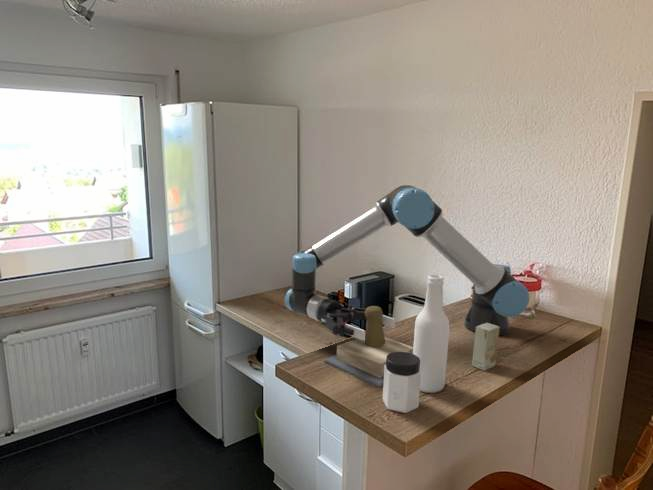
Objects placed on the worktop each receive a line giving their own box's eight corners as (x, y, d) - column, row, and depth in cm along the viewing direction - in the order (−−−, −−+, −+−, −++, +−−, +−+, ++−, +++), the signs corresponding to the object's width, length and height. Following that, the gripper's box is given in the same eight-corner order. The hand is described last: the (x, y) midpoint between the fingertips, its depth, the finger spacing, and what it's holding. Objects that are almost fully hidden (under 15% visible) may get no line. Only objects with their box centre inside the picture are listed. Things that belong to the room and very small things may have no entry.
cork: (369, 336, 150) (367, 302, 147) (388, 339, 147) (386, 304, 144) (361, 345, 144) (359, 310, 142) (381, 348, 142) (379, 312, 139)
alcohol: (409, 376, 136) (417, 271, 130) (442, 379, 135) (451, 273, 129) (411, 392, 127) (419, 280, 121) (446, 395, 126) (456, 282, 120)
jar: (378, 407, 119) (380, 361, 117) (386, 392, 127) (389, 348, 124) (414, 416, 116) (418, 368, 114) (421, 400, 124) (424, 355, 121)
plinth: (371, 342, 159) (372, 328, 158) (425, 362, 145) (426, 347, 144) (324, 362, 143) (324, 346, 142) (378, 386, 130) (379, 369, 129)
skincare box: (484, 371, 141) (488, 331, 138) (471, 366, 144) (474, 326, 141) (496, 365, 145) (500, 326, 142) (483, 360, 148) (487, 321, 146)
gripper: (351, 312, 161) (404, 331, 147) (294, 331, 144) (349, 354, 129) (352, 290, 160) (406, 307, 146) (295, 307, 142) (350, 327, 128)
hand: (379, 329), depth 137 cm, fingers open, 13 cm apart
